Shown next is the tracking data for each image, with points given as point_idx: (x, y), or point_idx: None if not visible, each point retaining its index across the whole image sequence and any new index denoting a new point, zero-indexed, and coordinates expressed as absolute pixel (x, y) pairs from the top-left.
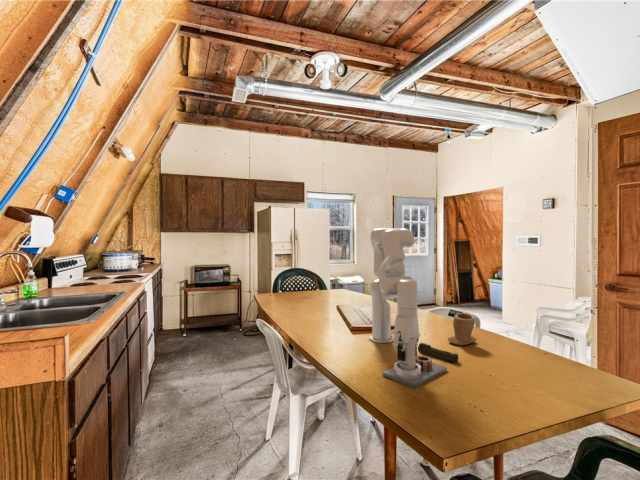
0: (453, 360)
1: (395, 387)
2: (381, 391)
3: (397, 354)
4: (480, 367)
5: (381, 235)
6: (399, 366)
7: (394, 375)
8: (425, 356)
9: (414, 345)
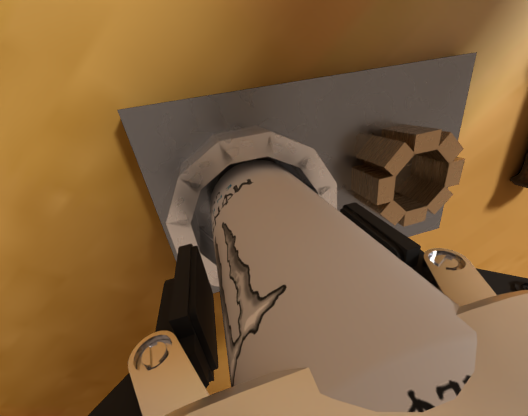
0: (522, 185)
1: (113, 252)
2: (6, 259)
3: (175, 272)
4: (513, 243)
5: None
6: (220, 188)
7: (162, 191)
8: (459, 162)
9: None
